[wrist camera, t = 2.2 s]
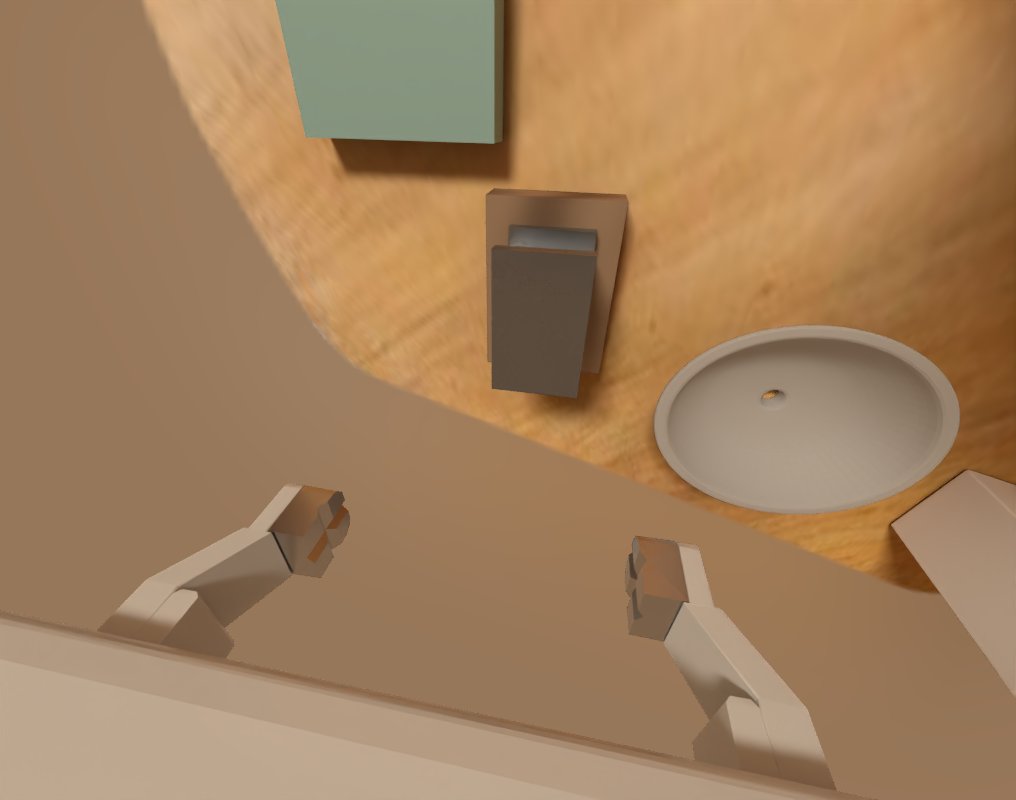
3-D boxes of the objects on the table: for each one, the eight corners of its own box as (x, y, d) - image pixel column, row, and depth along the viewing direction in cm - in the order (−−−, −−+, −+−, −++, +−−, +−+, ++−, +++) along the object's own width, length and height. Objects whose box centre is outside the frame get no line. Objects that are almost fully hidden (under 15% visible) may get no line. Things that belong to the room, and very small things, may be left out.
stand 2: (625, 194, 24) (628, 201, 22) (598, 356, 31) (598, 373, 29) (494, 188, 25) (485, 194, 23) (494, 346, 32) (487, 361, 30)
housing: (596, 229, 23) (597, 256, 19) (580, 352, 28) (577, 398, 23) (510, 224, 24) (491, 249, 20) (508, 345, 29) (491, 388, 24)
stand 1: (504, -59, 19) (494, -79, 17) (502, 141, 24) (494, 143, 22) (292, -52, 21) (259, -70, 19) (328, 135, 25) (305, 137, 23)
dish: (614, 425, 34) (616, 466, 30) (709, 258, 26) (730, 284, 22) (812, 491, 34) (841, 541, 30) (971, 347, 26) (1041, 390, 22)
